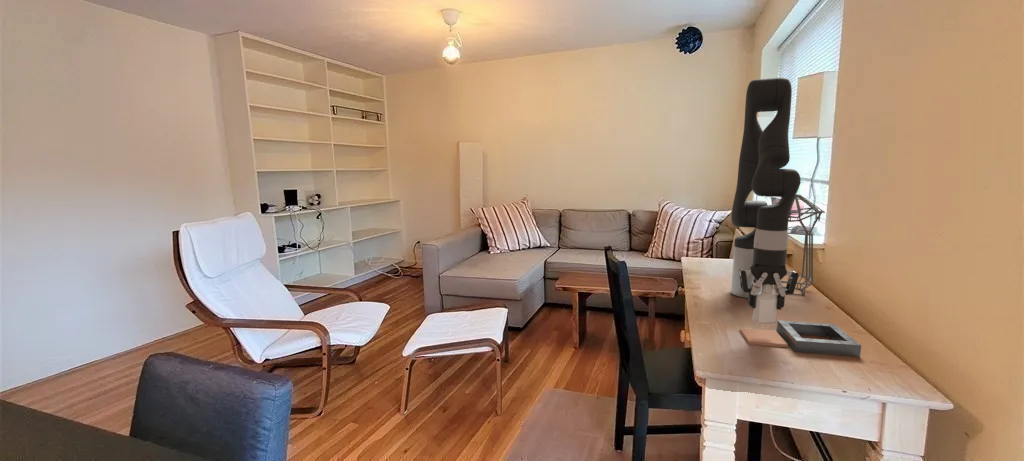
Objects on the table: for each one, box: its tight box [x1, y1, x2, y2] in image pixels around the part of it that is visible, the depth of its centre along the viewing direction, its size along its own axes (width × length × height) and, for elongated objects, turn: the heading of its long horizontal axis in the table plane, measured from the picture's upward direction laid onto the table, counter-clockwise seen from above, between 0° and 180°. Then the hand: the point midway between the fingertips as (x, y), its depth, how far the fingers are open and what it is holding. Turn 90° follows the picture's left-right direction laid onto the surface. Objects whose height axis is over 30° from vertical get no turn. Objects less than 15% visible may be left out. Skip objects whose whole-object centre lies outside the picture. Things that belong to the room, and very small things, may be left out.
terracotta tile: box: [739, 328, 789, 348], centre depth 118 cm, size 9×9×1 cm
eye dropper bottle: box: [752, 284, 778, 326], centre depth 117 cm, size 4×6×12 cm
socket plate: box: [776, 319, 862, 358], centre depth 115 cm, size 14×14×3 cm
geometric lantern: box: [774, 193, 826, 296], centre depth 156 cm, size 16×16×35 cm
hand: (765, 307), depth 117 cm, fingers closed on eye dropper bottle, 5 cm apart
